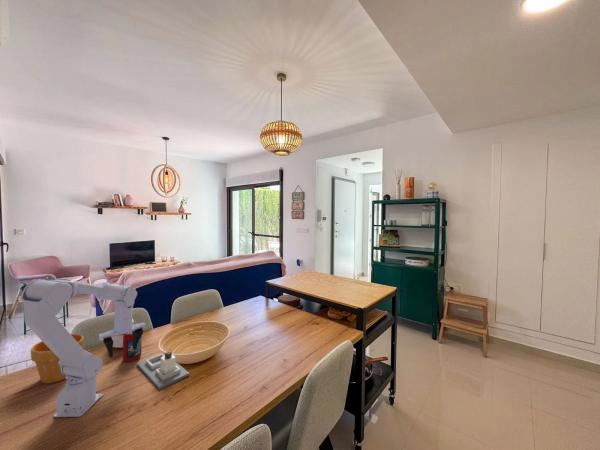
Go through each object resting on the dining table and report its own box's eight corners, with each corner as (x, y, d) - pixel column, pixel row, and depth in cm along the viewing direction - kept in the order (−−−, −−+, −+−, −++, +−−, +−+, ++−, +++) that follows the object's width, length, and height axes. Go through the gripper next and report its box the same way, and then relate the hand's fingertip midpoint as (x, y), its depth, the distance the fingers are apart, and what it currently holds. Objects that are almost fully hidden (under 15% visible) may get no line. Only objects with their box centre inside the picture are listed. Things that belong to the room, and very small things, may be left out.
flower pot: (34, 373, 95) (34, 340, 95) (83, 361, 104) (83, 330, 104) (26, 394, 84) (27, 356, 84) (82, 378, 93) (82, 344, 93)
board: (189, 375, 97) (189, 369, 97) (159, 389, 88) (159, 382, 88) (165, 355, 111) (165, 349, 111) (137, 365, 102) (137, 359, 102)
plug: (175, 372, 97) (175, 353, 97) (164, 377, 94) (165, 357, 94) (170, 368, 99) (171, 349, 99) (160, 372, 96) (160, 353, 96)
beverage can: (131, 363, 103) (132, 335, 103) (118, 361, 105) (119, 333, 104) (145, 355, 110) (145, 328, 110) (132, 353, 111) (132, 326, 111)
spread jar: (110, 352, 111) (111, 326, 111) (111, 342, 121) (112, 318, 120) (142, 345, 119) (143, 321, 118) (140, 336, 128) (141, 313, 127)
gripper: (141, 309, 102) (140, 342, 103) (96, 319, 91) (96, 356, 91) (147, 314, 98) (146, 348, 98) (102, 325, 87) (101, 363, 87)
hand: (122, 352), depth 94 cm, fingers open, 7 cm apart
